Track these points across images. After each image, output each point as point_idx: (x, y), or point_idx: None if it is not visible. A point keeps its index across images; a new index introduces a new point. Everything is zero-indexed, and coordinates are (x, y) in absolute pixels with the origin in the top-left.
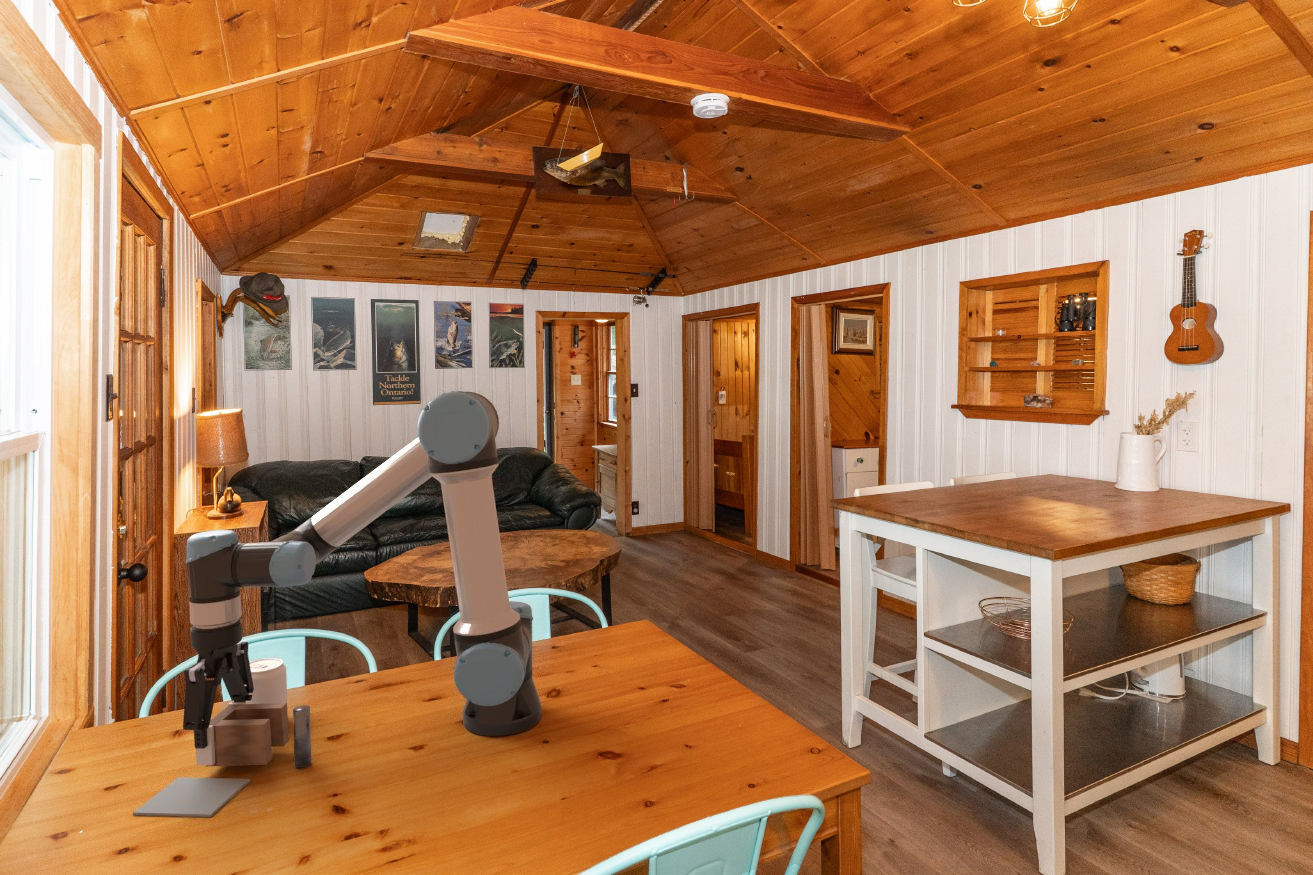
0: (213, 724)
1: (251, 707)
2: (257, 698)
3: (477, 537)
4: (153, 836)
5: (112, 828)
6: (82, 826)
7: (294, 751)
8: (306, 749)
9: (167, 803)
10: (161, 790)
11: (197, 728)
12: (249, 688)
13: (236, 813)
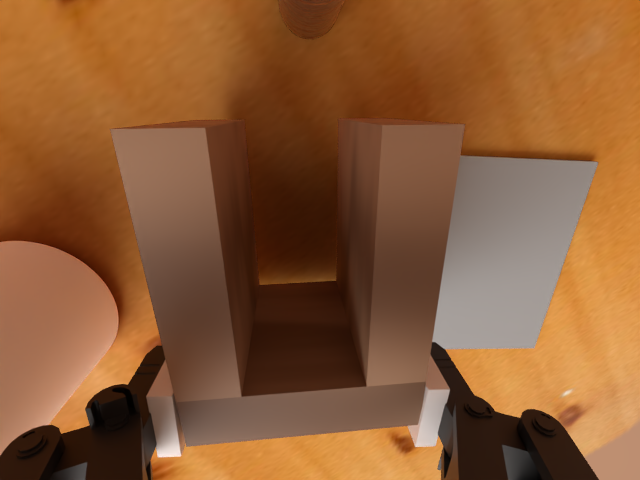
0: (408, 394)
1: (212, 331)
2: (12, 383)
3: None
4: (636, 250)
5: (573, 349)
6: (548, 402)
7: (337, 9)
8: None
9: (511, 301)
10: (445, 348)
11: (557, 422)
12: (47, 463)
13: (593, 93)
